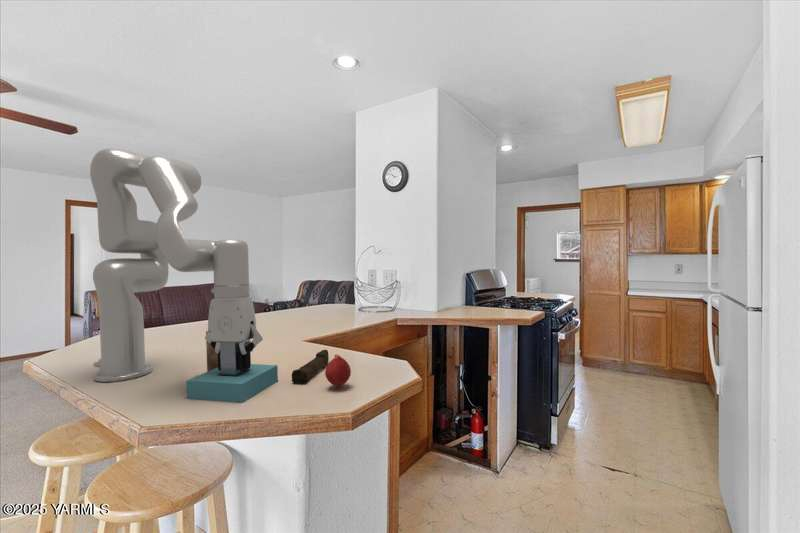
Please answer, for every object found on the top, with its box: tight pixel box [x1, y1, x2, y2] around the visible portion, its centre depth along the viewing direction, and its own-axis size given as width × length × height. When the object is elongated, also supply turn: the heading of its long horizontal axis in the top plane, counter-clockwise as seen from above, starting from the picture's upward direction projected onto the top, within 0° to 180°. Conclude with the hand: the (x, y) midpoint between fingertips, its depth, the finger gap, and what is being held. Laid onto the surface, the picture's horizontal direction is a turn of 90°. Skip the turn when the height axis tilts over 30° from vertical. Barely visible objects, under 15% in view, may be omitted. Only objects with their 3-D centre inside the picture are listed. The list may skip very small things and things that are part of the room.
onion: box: [324, 353, 352, 389], centre depth 87 cm, size 6×6×8 cm
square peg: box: [220, 342, 247, 377], centre depth 87 cm, size 4×4×12 cm
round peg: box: [205, 330, 218, 372], centre depth 98 cm, size 6×6×12 cm
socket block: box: [185, 363, 279, 403], centre depth 87 cm, size 14×14×4 cm
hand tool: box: [291, 349, 330, 385], centre depth 99 cm, size 19×4×5 cm, turn 167°
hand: (234, 368), depth 87 cm, fingers open, 5 cm apart
